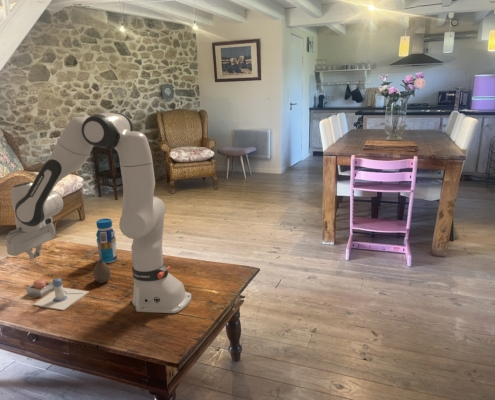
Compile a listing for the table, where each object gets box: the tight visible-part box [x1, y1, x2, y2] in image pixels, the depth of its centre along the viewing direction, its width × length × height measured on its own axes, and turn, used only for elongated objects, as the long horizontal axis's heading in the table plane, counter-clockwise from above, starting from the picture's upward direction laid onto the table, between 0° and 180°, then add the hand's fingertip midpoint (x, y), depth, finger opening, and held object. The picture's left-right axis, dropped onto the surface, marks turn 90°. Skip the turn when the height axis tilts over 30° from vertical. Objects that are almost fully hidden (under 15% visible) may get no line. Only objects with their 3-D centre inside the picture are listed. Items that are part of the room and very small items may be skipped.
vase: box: [92, 260, 112, 284], centre depth 164 cm, size 7×7×9 cm
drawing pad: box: [33, 287, 90, 312], centre depth 151 cm, size 14×14×1 cm
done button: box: [33, 278, 46, 289], centre depth 155 cm, size 4×4×3 cm
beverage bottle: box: [95, 218, 118, 264], centre depth 183 cm, size 8×8×20 cm
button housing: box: [25, 280, 54, 299], centre depth 156 cm, size 7×7×3 cm
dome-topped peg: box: [52, 277, 64, 301], centre depth 149 cm, size 3×3×8 cm
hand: (35, 257), depth 152 cm, fingers closed
